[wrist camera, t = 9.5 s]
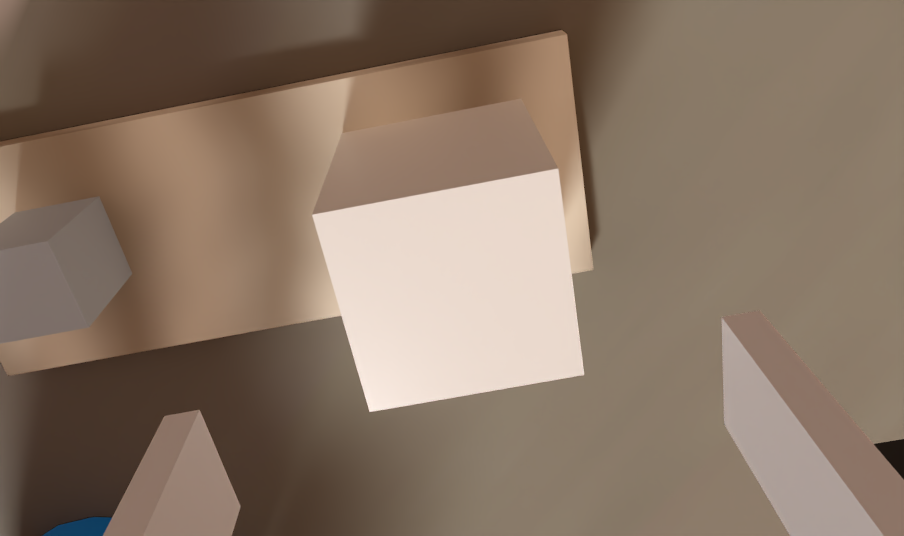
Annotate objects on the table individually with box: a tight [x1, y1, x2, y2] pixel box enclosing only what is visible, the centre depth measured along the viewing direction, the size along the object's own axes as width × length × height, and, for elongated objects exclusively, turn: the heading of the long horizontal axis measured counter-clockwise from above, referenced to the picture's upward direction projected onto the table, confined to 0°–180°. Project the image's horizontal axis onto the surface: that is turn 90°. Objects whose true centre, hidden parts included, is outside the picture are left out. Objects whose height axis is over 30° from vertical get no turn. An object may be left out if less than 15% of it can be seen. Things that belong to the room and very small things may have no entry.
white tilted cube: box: [312, 99, 584, 412], centre depth 23 cm, size 6×6×8 cm
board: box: [0, 30, 593, 376], centre depth 27 cm, size 24×9×1 cm, turn 101°
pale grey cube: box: [0, 196, 132, 344], centre depth 25 cm, size 3×3×4 cm
